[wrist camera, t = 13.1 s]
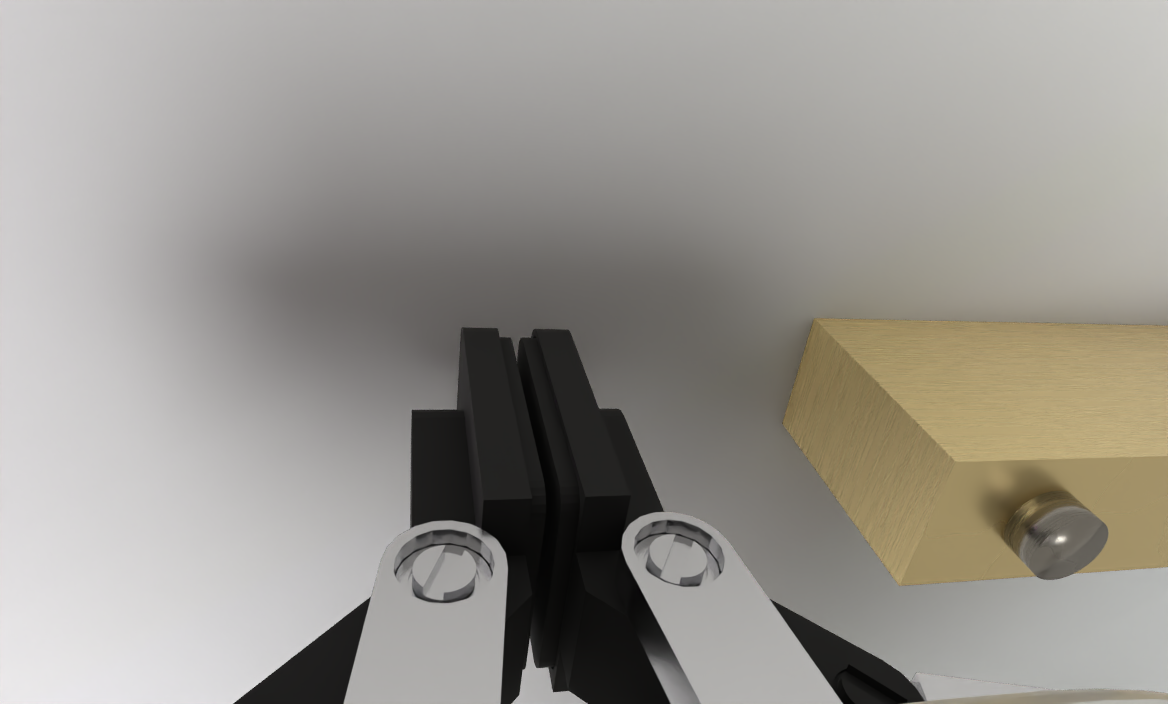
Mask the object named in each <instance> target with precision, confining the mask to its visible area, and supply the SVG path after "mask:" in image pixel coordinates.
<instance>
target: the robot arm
mask: <svg viewBox="0 0 1168 704" xmlns="http://www.w3.org/2000/svg"><path fill="white" fill-rule="evenodd" d="M529 638H530V639H531V645H532V651H533V658H534V663H535V666H536V668H545V667H549V673H550V678H551V684H552V689H553V692H561V691H570V692H572V693H573V694H575V695H576V696H577V697H579V698H580V699H582V700H583V701H585V702H586V703H588V704H1168V693H1161V692H1153V691H1145V690H1121V689H1075V690H1052V689H1045V688H1037V687H1029V686H1021V685H1013V684H1005V683H997V682H989V681H981V680H973V679H965V678H957V677H949V676H941V675H933V674H925V673H917V672H916V673H915V675H914V677H913V679H912V681H909V680H908V679H907V678H906V677H905V676H904V675H903V674H902V673H900V672H899V671H898V670H896V669H895V668H893V667H892V666H890V665H889V664H887V663H886V662H884V661H883V660H881V659H879V658H877V657H875V656H873V655H872V654H870V653H868V652H866V651H864V650H862V649H861V648H859V647H857V646H855V645H853V644H851V643H850V642H848V641H846V640H844V639H842V638H840V637H838V636H837V635H835V634H833V633H831V632H829V631H827V630H826V629H824V628H822V627H820V626H818V625H816V624H815V623H813V622H811V621H809V620H807V619H805V618H804V617H802V616H800V615H798V614H796V613H794V612H792V611H791V610H789V609H787V608H785V607H783V606H781V605H780V604H778V603H776V602H774V601H772V600H770V599H769V598H768V596H767V595H766V594H765V592H764V591H763V589H762V588H761V586H760V585H759V584H758V582H757V581H756V579H755V578H754V576H753V575H752V574H751V572H750V571H749V569H748V568H747V566H746V565H745V564H744V562H743V561H742V559H741V558H740V557H739V555H738V554H737V552H736V551H735V549H734V548H733V547H732V545H731V544H730V542H729V541H728V540H727V539H726V538H725V537H724V536H723V535H722V534H721V533H720V532H719V531H718V530H717V529H715V528H714V527H712V526H711V525H709V524H708V523H706V522H705V521H702V520H700V519H697V518H695V517H692V516H690V515H687V514H681V513H676V512H664V511H663V508H662V506H661V503H660V501H659V499H658V496H657V494H656V491H655V489H654V487H653V484H652V482H651V479H650V477H649V475H648V472H647V470H646V467H645V465H644V463H643V460H642V458H641V456H640V453H639V451H638V448H637V446H636V444H635V441H634V439H633V436H632V434H631V432H630V429H629V427H628V424H627V422H626V420H625V417H624V415H623V414H622V412H621V410H619V409H599V408H598V405H597V403H596V400H595V397H594V395H593V392H592V389H591V387H590V384H589V381H588V379H587V376H586V373H585V371H584V368H583V365H582V363H581V360H580V357H579V355H578V352H577V349H576V346H575V344H574V341H573V338H572V336H571V333H570V331H569V330H555V329H534V330H533V333H532V337H531V338H521V339H520V342H519V349H518V359H517V361H516V357H515V353H514V348H513V344H512V340H511V338H501V337H499V333H498V329H497V328H462V330H461V341H460V360H459V379H458V398H457V410H412V428H411V515H410V529H409V530H407V531H405V532H403V533H402V534H400V535H398V536H397V537H396V538H395V539H394V540H393V541H392V542H391V543H390V544H389V545H388V546H387V548H386V550H385V552H384V554H383V556H382V558H381V561H380V564H379V568H378V572H377V576H376V580H375V584H374V588H373V591H372V595H371V597H370V598H369V599H367V600H366V601H365V602H363V603H362V604H361V605H360V606H358V607H357V608H356V609H354V610H353V611H352V612H351V613H349V614H348V615H347V616H345V617H344V618H343V619H342V620H340V621H339V622H338V623H336V624H335V625H334V626H333V627H331V628H330V629H329V630H327V631H326V632H325V633H324V634H322V635H321V636H320V637H318V638H317V639H316V640H315V641H313V642H312V643H311V644H309V645H308V646H307V647H306V648H304V649H303V650H302V651H300V652H299V653H298V654H297V655H295V656H294V657H293V658H291V659H290V660H289V661H288V662H286V663H285V664H284V665H282V666H281V667H280V668H279V669H277V670H276V671H275V672H273V673H272V674H271V675H270V676H268V677H267V678H266V679H264V680H263V681H262V682H261V683H259V684H258V685H257V686H255V687H254V688H253V689H252V690H250V691H249V692H248V693H246V694H245V695H244V696H243V697H241V698H240V699H239V700H237V701H236V702H235V703H234V704H511V703H512V702H513V701H514V700H515V699H516V698H517V697H518V696H519V692H520V685H521V677H522V669H525V667H526V661H527V653H528V646H529Z"/></svg>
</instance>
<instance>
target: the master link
mask: <svg viewBox="0 0 1168 704" xmlns="http://www.w3.org/2000/svg"><path fill="white" fill-rule="evenodd" d="M782 424H783V425H784V427H785V428H786V429H787V431H788V432H789V434H790V435H791V436H792V438H793V439H794V441H795V442H796V443H797V445H798V446H799V447H800V449H801V450H802V452H803V453H804V454H805V456H806V457H807V459H808V460H809V461H810V463H811V464H812V466H813V467H814V468H815V470H816V471H817V473H818V474H819V475H820V477H821V478H822V479H823V481H824V482H825V484H826V485H827V486H828V488H829V489H830V491H831V492H832V493H833V495H834V496H835V498H836V499H837V500H838V502H839V503H840V504H841V506H842V507H843V509H844V510H845V511H846V513H847V514H848V516H849V517H850V518H851V520H852V521H853V523H854V524H855V525H856V527H857V528H858V530H859V531H860V532H861V534H862V535H863V536H864V538H865V539H866V541H867V542H868V543H869V545H870V546H871V548H872V549H873V550H874V552H875V553H876V555H877V556H878V557H879V559H880V560H881V562H882V563H883V564H884V566H885V567H886V568H887V570H888V571H889V573H890V574H891V575H892V577H893V578H894V580H895V581H896V582H897V584H898V585H899V586H904V585H919V584H933V583H947V582H961V581H975V580H990V579H1004V578H1018V577H1032V576H1037V577H1039V578H1041V579H1046V580H1054V579H1060V578H1063V577H1066V576H1069V575H1071V574H1075V573H1089V572H1103V571H1117V570H1132V569H1146V568H1160V567H1168V326H1158V325H1110V324H1062V323H1015V322H967V321H919V320H872V319H824V318H814V321H813V324H812V327H811V330H810V334H809V337H808V340H807V344H806V347H805V350H804V353H803V357H802V360H801V363H800V367H799V370H798V373H797V376H796V380H795V383H794V386H793V390H792V393H791V396H790V399H789V403H788V406H787V409H786V412H785V416H784V419H783V422H782Z"/></svg>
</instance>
